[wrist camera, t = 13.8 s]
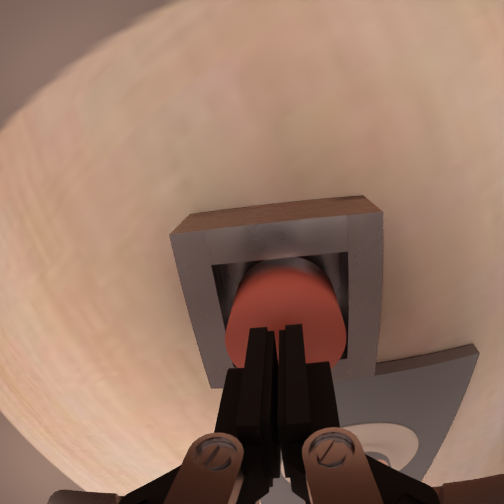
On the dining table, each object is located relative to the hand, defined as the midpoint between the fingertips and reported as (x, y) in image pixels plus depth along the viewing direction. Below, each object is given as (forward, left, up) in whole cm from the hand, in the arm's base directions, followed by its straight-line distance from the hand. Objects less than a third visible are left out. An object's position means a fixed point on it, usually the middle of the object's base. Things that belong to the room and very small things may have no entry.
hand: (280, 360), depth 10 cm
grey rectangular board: (-16, -4, -6) cm, 18 cm away
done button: (0, 0, -4) cm, 4 cm away
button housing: (0, 0, -6) cm, 6 cm away
